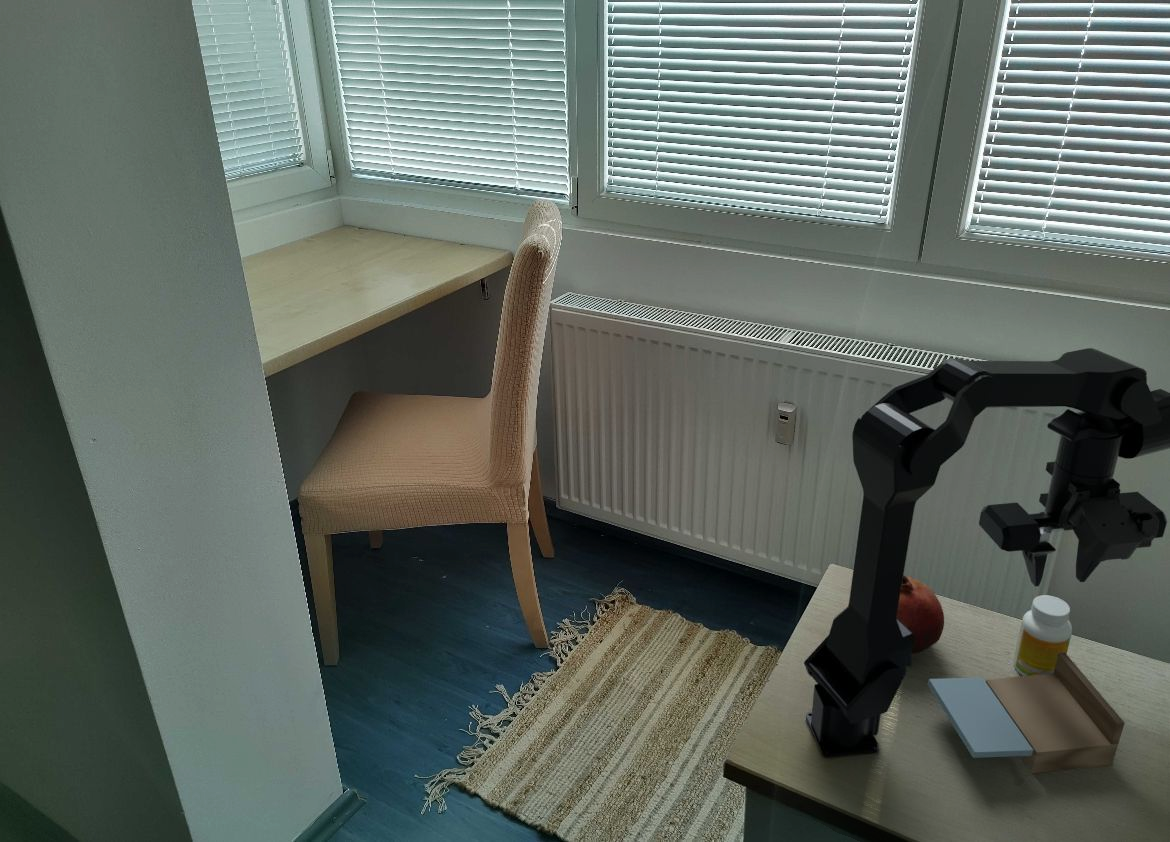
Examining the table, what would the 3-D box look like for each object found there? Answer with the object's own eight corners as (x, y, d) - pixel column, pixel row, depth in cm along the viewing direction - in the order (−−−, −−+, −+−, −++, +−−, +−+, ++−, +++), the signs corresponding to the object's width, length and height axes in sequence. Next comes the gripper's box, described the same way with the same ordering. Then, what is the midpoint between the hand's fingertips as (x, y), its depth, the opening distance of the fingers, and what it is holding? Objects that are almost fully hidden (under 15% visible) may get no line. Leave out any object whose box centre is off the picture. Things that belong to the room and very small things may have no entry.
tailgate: (1030, 757, 95) (972, 759, 95) (980, 684, 105) (927, 686, 105) (1033, 750, 95) (974, 752, 94) (982, 677, 105) (929, 678, 104)
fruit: (841, 651, 115) (847, 587, 110) (866, 608, 122) (873, 547, 118) (927, 681, 109) (938, 615, 105) (947, 634, 117) (958, 571, 112)
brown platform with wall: (1031, 773, 97) (1042, 731, 94) (981, 699, 106) (989, 659, 104) (1112, 764, 97) (1124, 722, 94) (1055, 691, 107) (1065, 652, 104)
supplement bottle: (1066, 686, 108) (1083, 622, 103) (1018, 681, 109) (1032, 617, 104) (1055, 656, 112) (1070, 593, 108) (1008, 652, 113) (1022, 589, 109)
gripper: (1042, 511, 90) (1016, 635, 97) (1220, 495, 91) (1181, 618, 98) (987, 458, 100) (967, 574, 107) (1148, 444, 101) (1117, 559, 108)
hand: (1057, 582), depth 105 cm, fingers open, 5 cm apart
